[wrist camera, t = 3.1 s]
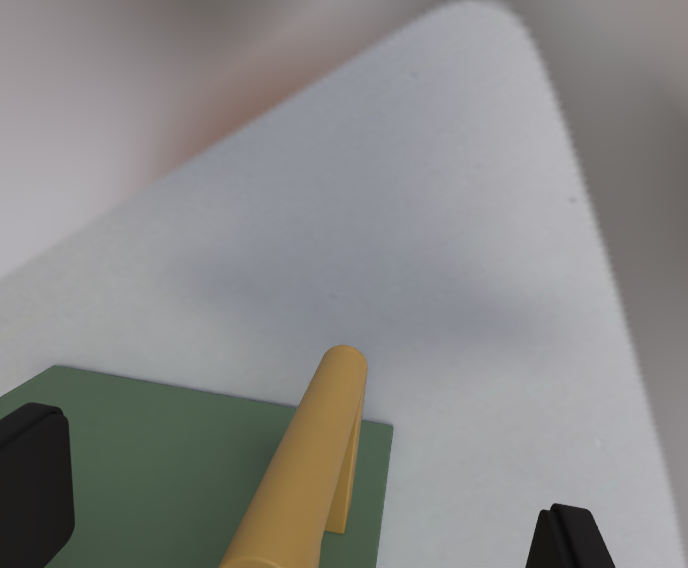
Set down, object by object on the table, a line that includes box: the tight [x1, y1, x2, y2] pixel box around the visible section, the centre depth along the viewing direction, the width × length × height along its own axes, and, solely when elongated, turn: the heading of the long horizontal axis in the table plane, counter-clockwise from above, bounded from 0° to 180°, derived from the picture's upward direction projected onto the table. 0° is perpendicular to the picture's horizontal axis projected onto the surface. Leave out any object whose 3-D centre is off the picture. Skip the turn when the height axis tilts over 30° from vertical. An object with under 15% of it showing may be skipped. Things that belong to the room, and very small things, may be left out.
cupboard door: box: [0, 345, 393, 568], centre depth 16 cm, size 7×18×16 cm, turn 84°
